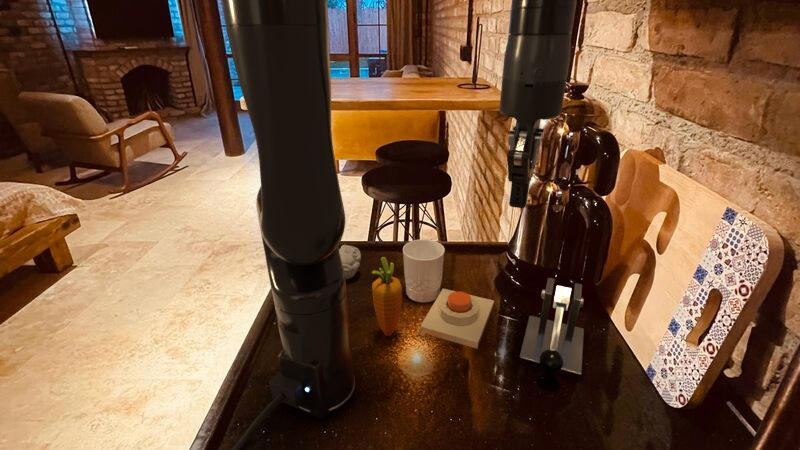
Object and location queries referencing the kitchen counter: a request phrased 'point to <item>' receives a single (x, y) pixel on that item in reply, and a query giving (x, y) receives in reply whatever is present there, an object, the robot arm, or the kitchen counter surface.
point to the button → (459, 302)
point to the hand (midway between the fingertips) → (517, 205)
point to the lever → (556, 331)
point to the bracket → (570, 335)
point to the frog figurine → (350, 260)
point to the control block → (457, 320)
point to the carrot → (387, 298)
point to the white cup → (423, 269)
